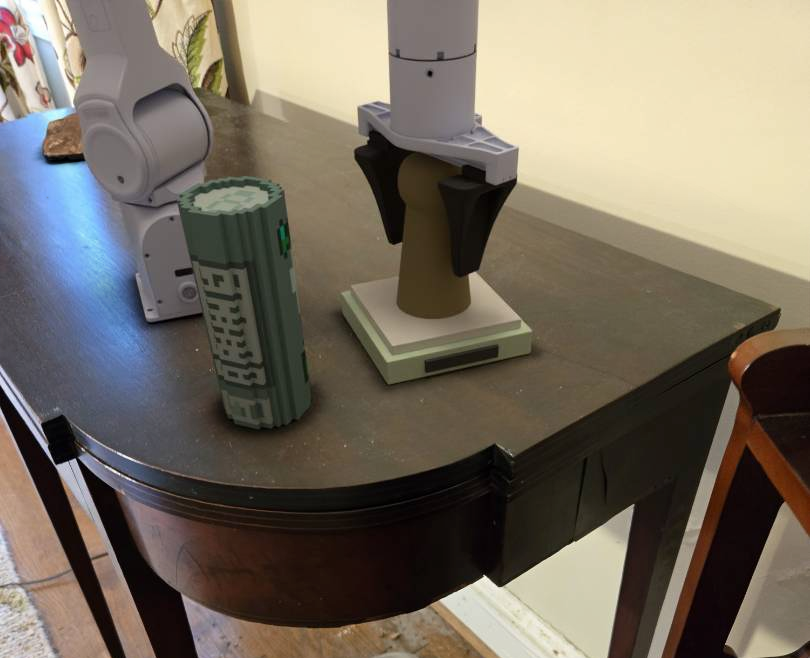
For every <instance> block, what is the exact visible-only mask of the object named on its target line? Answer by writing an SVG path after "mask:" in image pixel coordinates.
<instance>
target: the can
mask: <svg viewBox="0 0 810 658" xmlns="http://www.w3.org/2000/svg"><path fill="white" fill-rule="evenodd" d="M179 196H180V199H178V200H177V204H178V208H179V213H180V217H181V221H182V226H183V230H184V234H185V239H186V243H187V248H188V252H189V256H190V261H191V265H192V269H193V274H194V278H195V283H196V287H197V291H198V296H199V300H200V304H201V309H202V313H201V314H202V317H203V321H204V326H205V331H206V334H207V339H208V344H209V348H210V352H211V356H212V361H213V365H214V369H215V374H216V378H217V382H218V383H217V384H218V387H219V391H220V397H221V399H222V405H223V409H224V410H225V414H226V416H227V419H230V420H233V423H234V425H238V426H242V427H247V428H250V429H253V430H260V429H261V428H266V429H269V430H272V429H273V428H274V427H277V428H280V427H281V426H282V425H285V426H288V425H289V424H290V423H291V422H292V420H295V421H298V420H299V419H300V418H301V417H302V416H303V415H304V414H305V413H306V411H307V410H308V409H309V408H310V407H311V406H312V403H311V400H312V392H311V385H310V376H309V367H308V362H307V353H306V346H305V338H304V332H303V324H302V323H303V322H302V316H301V308H300V301H299V300H300V299H299V292H298V285H297V279H296V271H295V269H296V268H295V263H294V255H293V248H292V240H291V233H290V224H289V217H288V210H287V202H286V195H285V189H283V188H282V185H281V186H280V183H279V182H273V181H272V179H269V178H263V177H256V176H247V175H242V176H240V177H236V176H227V177H226V178H224V177H219V178H218V179H212V178H211V179H209V180H207V181H205V183H204V184H202V183H197V184H196V185H194V186H192V187H191V188H189V189H188V190H186V191H184V192H183V193H181V194H179Z"/></svg>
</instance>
